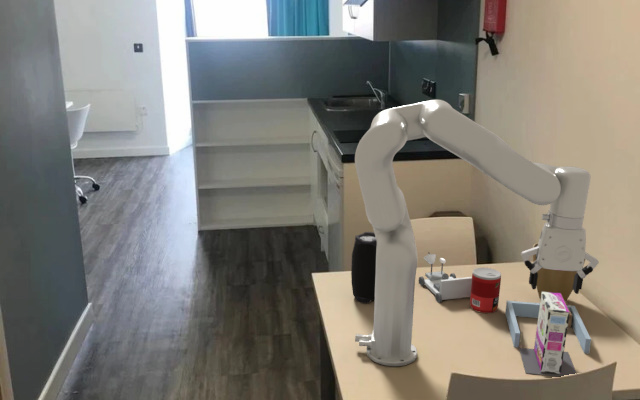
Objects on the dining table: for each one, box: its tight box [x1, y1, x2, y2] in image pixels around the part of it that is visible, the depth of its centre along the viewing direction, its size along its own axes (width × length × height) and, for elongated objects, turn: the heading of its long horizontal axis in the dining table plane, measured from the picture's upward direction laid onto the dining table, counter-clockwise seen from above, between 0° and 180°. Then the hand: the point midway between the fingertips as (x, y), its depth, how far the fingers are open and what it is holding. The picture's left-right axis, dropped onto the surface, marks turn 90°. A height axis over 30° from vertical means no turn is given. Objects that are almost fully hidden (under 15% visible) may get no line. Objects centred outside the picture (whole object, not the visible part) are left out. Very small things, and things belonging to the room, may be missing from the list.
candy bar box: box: [533, 292, 570, 374], centre depth 157 cm, size 11×5×16 cm, turn 171°
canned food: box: [469, 267, 502, 314], centre depth 187 cm, size 8×8×11 cm
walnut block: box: [567, 309, 572, 329], centre depth 179 cm, size 4×4×4 cm
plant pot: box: [532, 242, 587, 303], centre depth 192 cm, size 15×15×16 cm
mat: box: [518, 347, 577, 377], centre depth 160 cm, size 12×12×1 cm
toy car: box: [418, 251, 472, 304], centre depth 199 cm, size 18×10×12 cm
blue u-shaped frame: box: [505, 300, 592, 354], centre depth 174 cm, size 18×19×4 cm
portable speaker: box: [350, 231, 377, 304], centre depth 191 cm, size 9×9×20 cm
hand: (554, 289), depth 154 cm, fingers open, 9 cm apart
